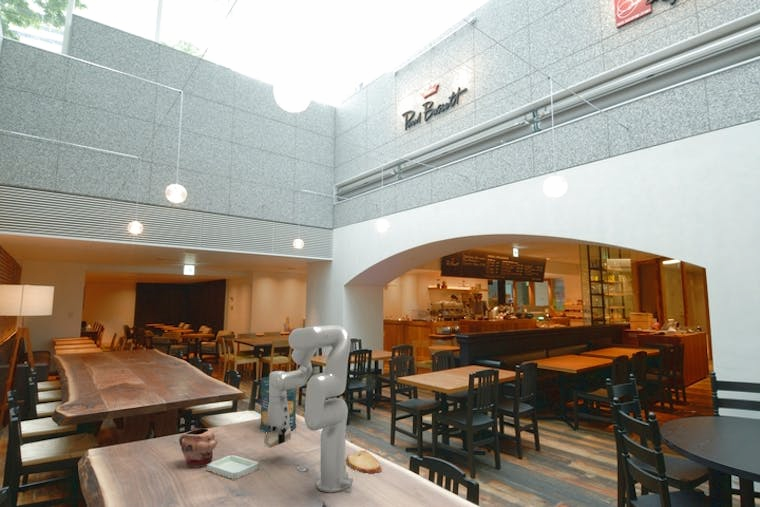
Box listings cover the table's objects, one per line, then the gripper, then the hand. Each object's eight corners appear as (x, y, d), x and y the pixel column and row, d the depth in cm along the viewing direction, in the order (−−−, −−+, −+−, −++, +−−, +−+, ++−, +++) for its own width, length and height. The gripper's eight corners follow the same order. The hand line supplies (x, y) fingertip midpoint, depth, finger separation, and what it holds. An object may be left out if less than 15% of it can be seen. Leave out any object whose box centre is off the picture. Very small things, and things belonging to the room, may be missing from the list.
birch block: (290, 439, 178) (290, 428, 178) (270, 447, 168) (270, 435, 168) (284, 438, 180) (284, 426, 180) (264, 446, 170) (264, 434, 170)
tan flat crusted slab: (380, 475, 157) (379, 465, 157) (337, 472, 161) (337, 462, 161) (389, 458, 174) (389, 449, 175) (350, 455, 178) (350, 447, 179)
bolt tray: (259, 468, 165) (259, 462, 165) (234, 480, 154) (234, 473, 155) (231, 460, 175) (231, 454, 175) (206, 470, 164) (206, 464, 164)
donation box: (286, 423, 228) (286, 374, 232) (299, 429, 216) (300, 377, 220) (259, 429, 218) (260, 377, 221) (272, 436, 206) (273, 381, 209)
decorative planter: (166, 467, 168) (168, 433, 170) (186, 456, 180) (188, 425, 182) (206, 471, 163) (207, 436, 165) (224, 460, 175) (225, 427, 177)
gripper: (297, 399, 175) (297, 442, 172) (271, 396, 184) (271, 437, 181) (284, 402, 169) (285, 447, 166) (258, 399, 178) (258, 442, 175)
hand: (277, 441), depth 174 cm, fingers closed on birch block, 4 cm apart
